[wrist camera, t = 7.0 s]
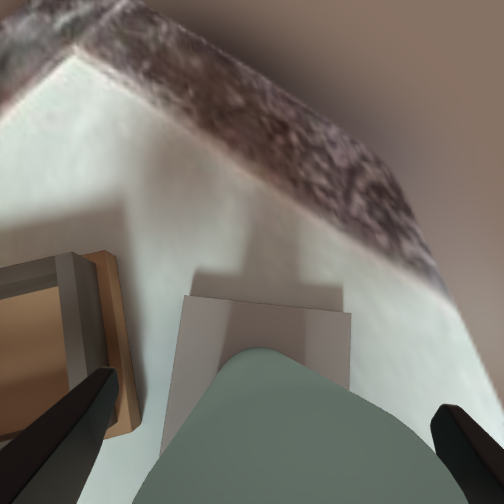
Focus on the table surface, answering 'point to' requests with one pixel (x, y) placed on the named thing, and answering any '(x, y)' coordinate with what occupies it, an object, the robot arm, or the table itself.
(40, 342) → the socket
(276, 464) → the peg
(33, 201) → the table surface
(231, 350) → the pad
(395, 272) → the table surface
